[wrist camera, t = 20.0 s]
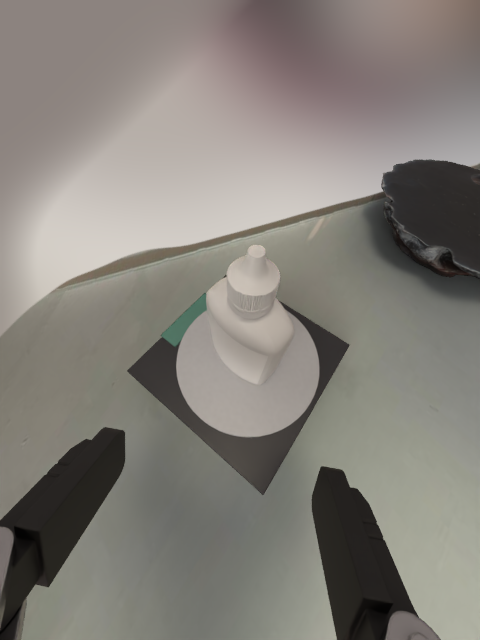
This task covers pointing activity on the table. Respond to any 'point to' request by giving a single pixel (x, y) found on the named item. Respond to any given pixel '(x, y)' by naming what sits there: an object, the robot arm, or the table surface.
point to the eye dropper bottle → (249, 317)
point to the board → (436, 214)
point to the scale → (240, 390)
